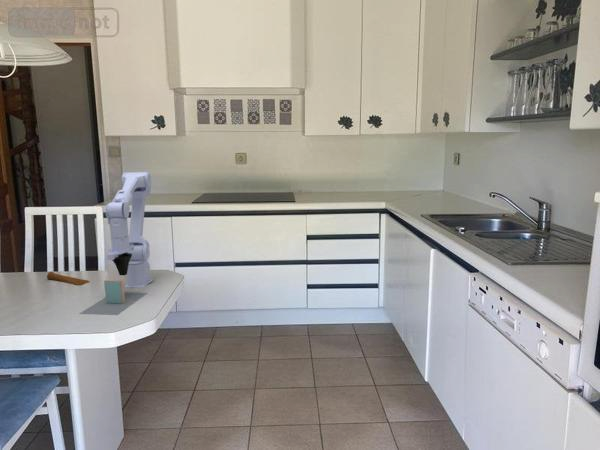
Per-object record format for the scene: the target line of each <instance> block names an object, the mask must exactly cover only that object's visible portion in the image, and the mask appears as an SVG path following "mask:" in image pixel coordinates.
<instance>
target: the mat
mask: <svg viewBox="0 0 600 450" xmlns="http://www.w3.org/2000/svg"><path fill="white" fill-rule="evenodd" d="M146 295H148V292H130V291H129V292H127V291H124V297H125V303H123V304H118V303H106V296H105V297H104V298H102V299H100V300H99V301H96V302H95V303H94V304H92V305H91V306H89V307H87V308H86V309H84V310H82V312H80V313H79V314H80V315H98V316H99V315H101V316H102V315H105V316H106V315H107V316H119V315H120V314H121V313H122V312H124V311H125V310H127V309H128V308H129V307H131V306H132V305H133V304H134V305H135V304H136V302H138V301H139V300H140V299H142V298H143V297H144V296H146Z"/></svg>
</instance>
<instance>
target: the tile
mask: <svg viewBox="0 0 600 450" xmlns="http://www.w3.org/2000/svg"><path fill="white" fill-rule="evenodd" d="M103 284H104V293H105V295H104V296H105V297H106V303H118V304H123V303H125V297H124V292H125V289H124V288H125V287H124V279H115V278H114V279H111V278H110V279H109V278H108V279H107V278H106V279H104V280H103Z"/></svg>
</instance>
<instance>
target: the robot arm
mask: <svg viewBox="0 0 600 450" xmlns="http://www.w3.org/2000/svg"><path fill="white" fill-rule="evenodd" d="M121 184H122V187H121V189H119V190H118V191H117V192H116V193H115V196H114V197H113V199H112V200H111V201H112V202H111V201H110V202H109V203H107V204H106V205H105V217H106V219H107V224H108V225H109V231H110V232H109V233H110V241H111V248H109V249H108V251H109V252H108V253H107V254H106V257H107V259H106V260H109V261H112V262H113V263H114V265H115V267H116V269H117V271H118V275H119V276H126V283H125V284H123V286H124V288H144V287H146V286H147V285H149V284H150V283H152V282H154V279H153V278H152V276H151V265H150V262H149V258H150V253H151V252H150V251H151V250H150V243H149V241H148V240H147V239H146V238H144V237H143V233H144V221H145V207H146V199H147V198H148V196H150V195H151V192H152V190H151V189H152V177H151V174H150V173H149V172H148V171H144V172H143V171H142V172H139V171H138V172H134V171H133V172H127V171H126V172H125V171H124V172H123V173H122V175H121ZM130 206H131V207H130ZM130 210H131V211H130ZM129 216H130V222H129V225H128V218H129Z"/></svg>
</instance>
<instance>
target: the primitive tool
mask: <svg viewBox="0 0 600 450" xmlns="http://www.w3.org/2000/svg"><path fill="white" fill-rule="evenodd" d="M46 279H47V280H49V281H51V280H54V281H58V282H62V283H67V284H70V285H74V286H83V285H86V284H89V283H90V282H91V281H89V280H88V279H82V278H77V277H71V276H66V275H62V274H58V273H55V272H53V271H49V272H48V273H47V275H46Z"/></svg>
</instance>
